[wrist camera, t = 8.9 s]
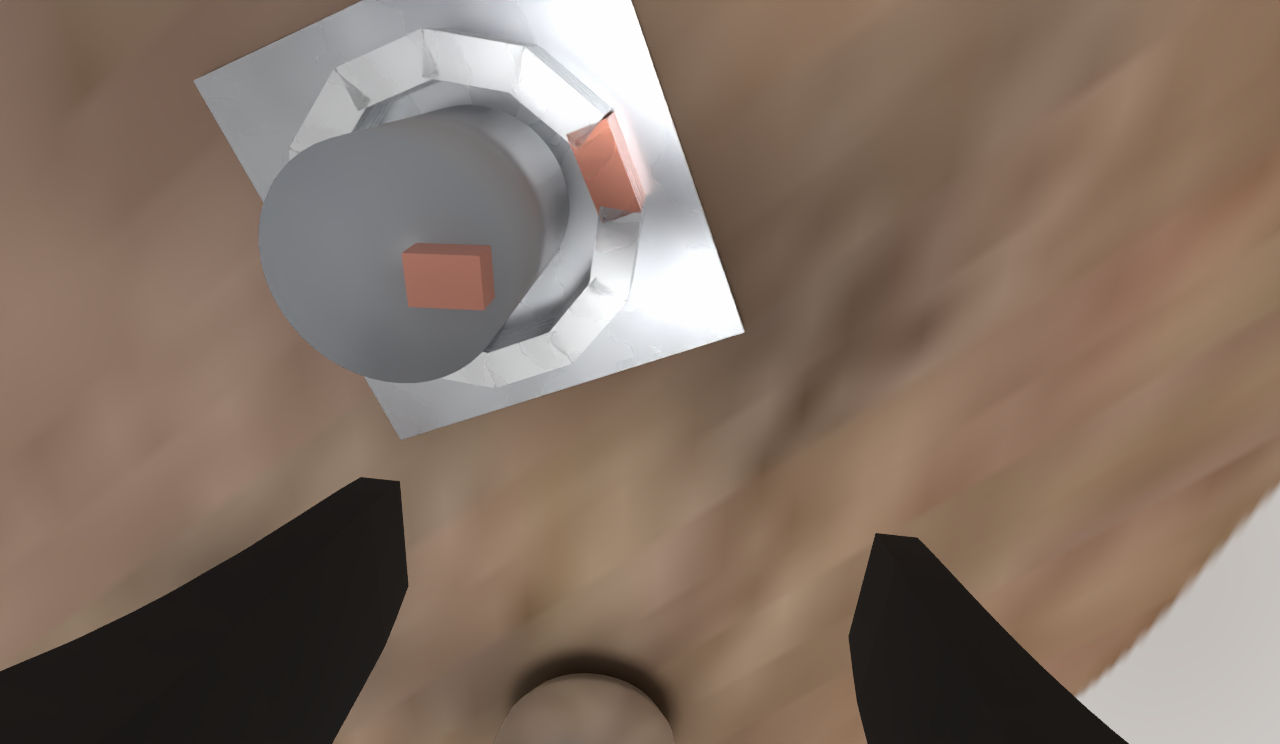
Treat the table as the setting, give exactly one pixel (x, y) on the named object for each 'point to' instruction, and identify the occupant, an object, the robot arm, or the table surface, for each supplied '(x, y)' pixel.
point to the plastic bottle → (585, 714)
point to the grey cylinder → (412, 239)
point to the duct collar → (575, 133)
